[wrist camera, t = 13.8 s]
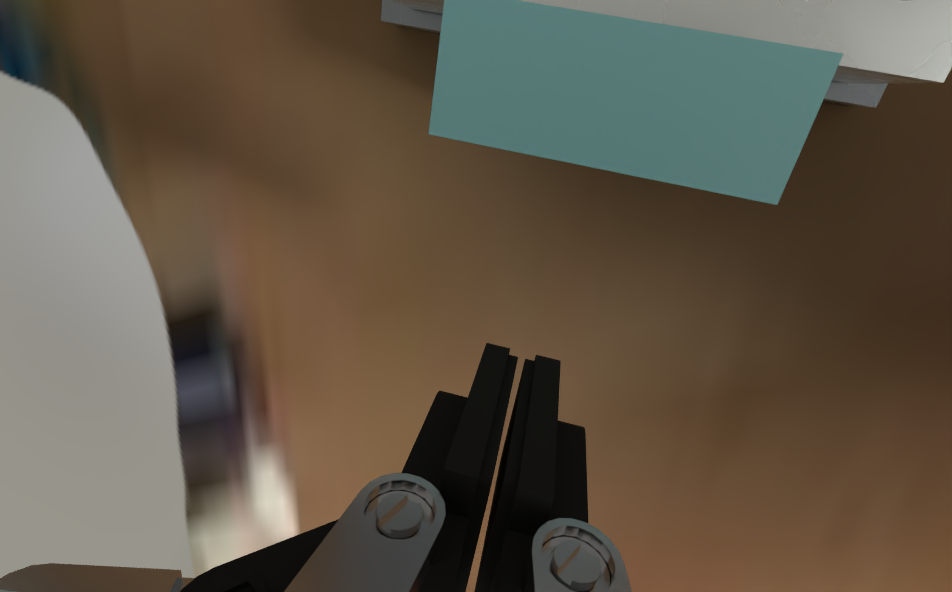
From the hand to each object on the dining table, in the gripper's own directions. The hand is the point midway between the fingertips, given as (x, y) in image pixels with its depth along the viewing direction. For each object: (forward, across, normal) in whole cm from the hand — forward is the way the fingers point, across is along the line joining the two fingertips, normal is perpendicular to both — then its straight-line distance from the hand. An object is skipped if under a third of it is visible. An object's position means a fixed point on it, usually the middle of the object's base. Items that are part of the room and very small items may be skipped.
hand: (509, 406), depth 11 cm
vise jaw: (+9, -1, -8) cm, 12 cm away
